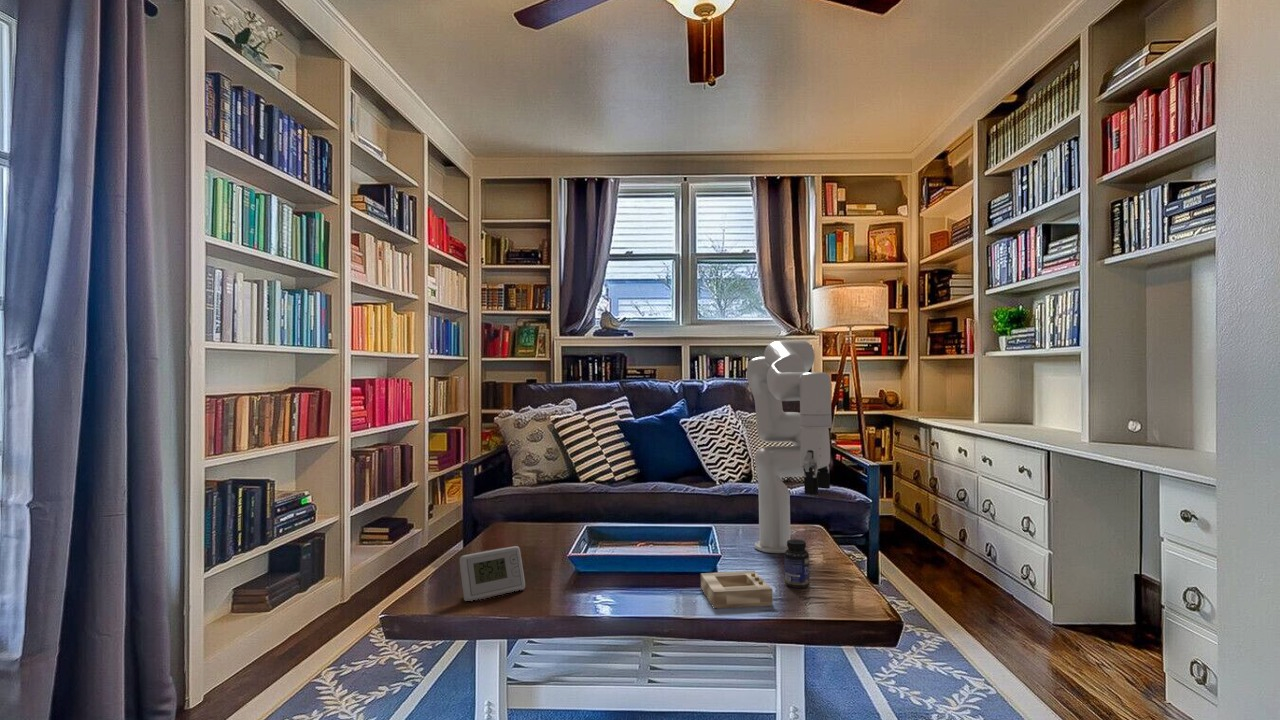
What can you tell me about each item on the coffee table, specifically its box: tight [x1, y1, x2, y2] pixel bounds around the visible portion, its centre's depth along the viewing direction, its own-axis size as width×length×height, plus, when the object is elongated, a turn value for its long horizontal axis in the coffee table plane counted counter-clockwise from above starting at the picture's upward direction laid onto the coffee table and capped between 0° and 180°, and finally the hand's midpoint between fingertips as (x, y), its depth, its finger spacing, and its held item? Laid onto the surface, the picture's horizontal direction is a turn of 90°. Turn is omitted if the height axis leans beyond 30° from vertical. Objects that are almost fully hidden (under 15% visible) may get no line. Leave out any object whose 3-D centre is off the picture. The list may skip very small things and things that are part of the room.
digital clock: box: [459, 545, 526, 602], centre depth 156 cm, size 16×9×11 cm, turn 115°
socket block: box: [700, 570, 774, 609], centre depth 151 cm, size 14×14×4 cm
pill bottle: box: [783, 538, 810, 589], centre depth 160 cm, size 6×6×11 cm
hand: (817, 491), depth 154 cm, fingers open, 9 cm apart
